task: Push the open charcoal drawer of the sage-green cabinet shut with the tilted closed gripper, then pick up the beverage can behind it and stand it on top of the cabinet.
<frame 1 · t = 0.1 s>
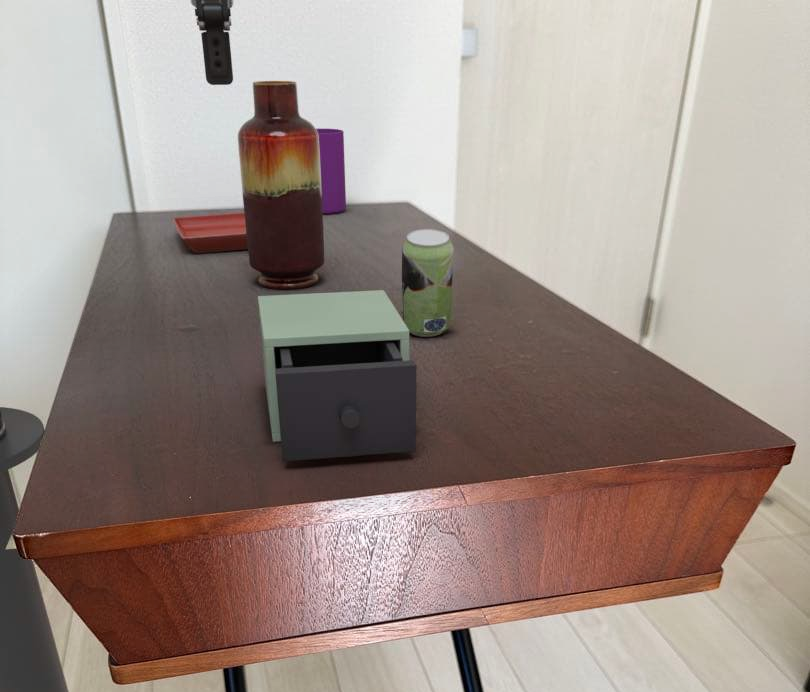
hand: (220, 81, 73), 28 cm above the table, tool pointing down, fingers open, 8 cm apart
cabinet: (333, 408, 83), on the table
mug: (308, 212, 173), on the table
beverage can: (426, 334, 104), on the table
plant saucer: (231, 243, 148), on the table
drawer: (340, 389, 74), point 5 cm above the table, slide at 5.0 cm
vase: (288, 283, 125), on the table
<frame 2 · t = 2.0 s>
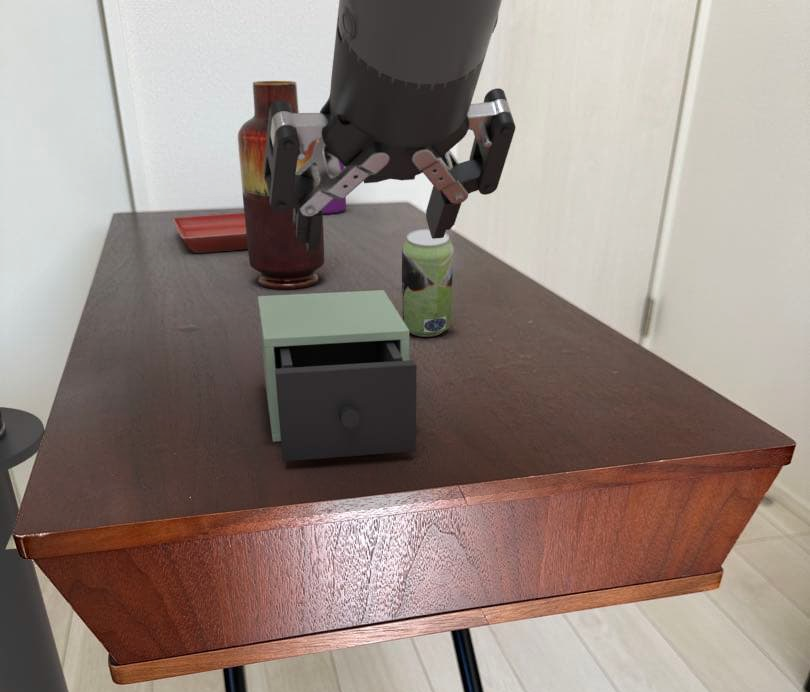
hand: (372, 233, 56), 20 cm above the table, tool tilted 40°, fingers open, 8 cm apart
nothing on the table moved.
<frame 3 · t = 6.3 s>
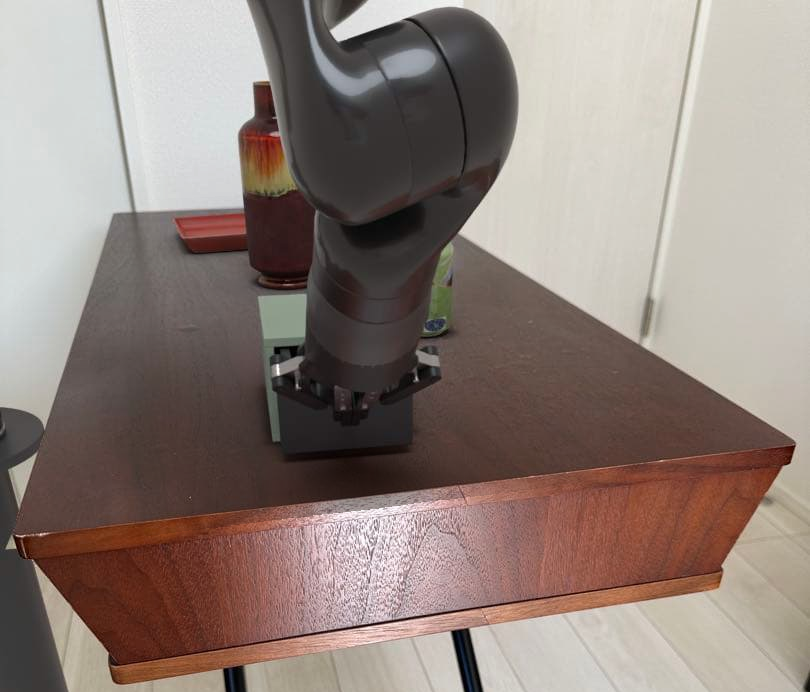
hand: (348, 415, 69), 5 cm above the table, tool tilted 45°, fingers closed
drawer: (338, 383, 76), point 5 cm above the table, slide at 3.5 cm, touching gripper
everything else where it was.
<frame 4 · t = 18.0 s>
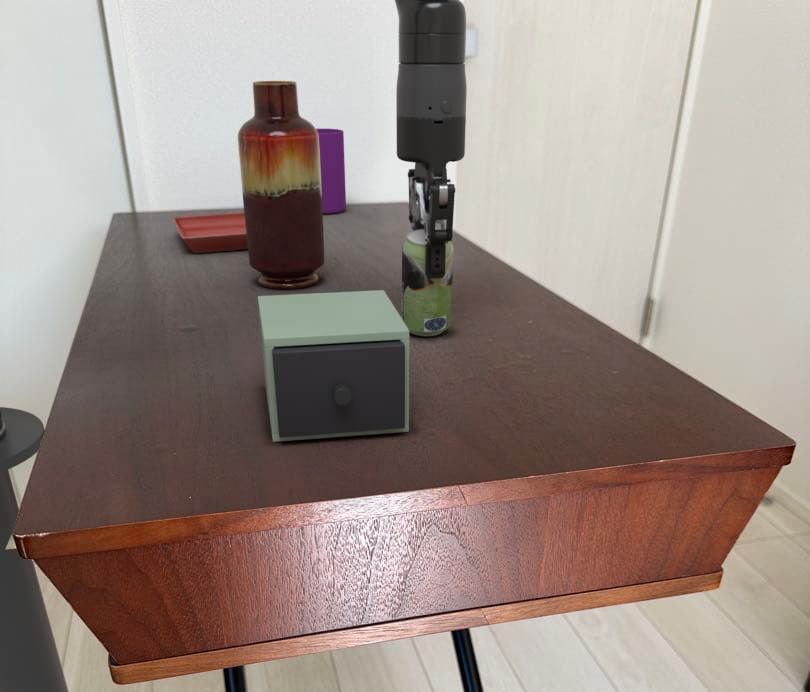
hand: (429, 270, 99), 8 cm above the table, tool pointing down, fingers closed on beverage can, 6 cm apart
beverage can: (426, 334, 104), on the table, touching gripper
drawer: (334, 370, 78), point 5 cm above the table, slide at 0.0 cm, touching cabinet
everything else where it was.
when the fingers open (17 cm above the table, at t = 26.1 s): beverage can stays where it is, resting on cabinet.
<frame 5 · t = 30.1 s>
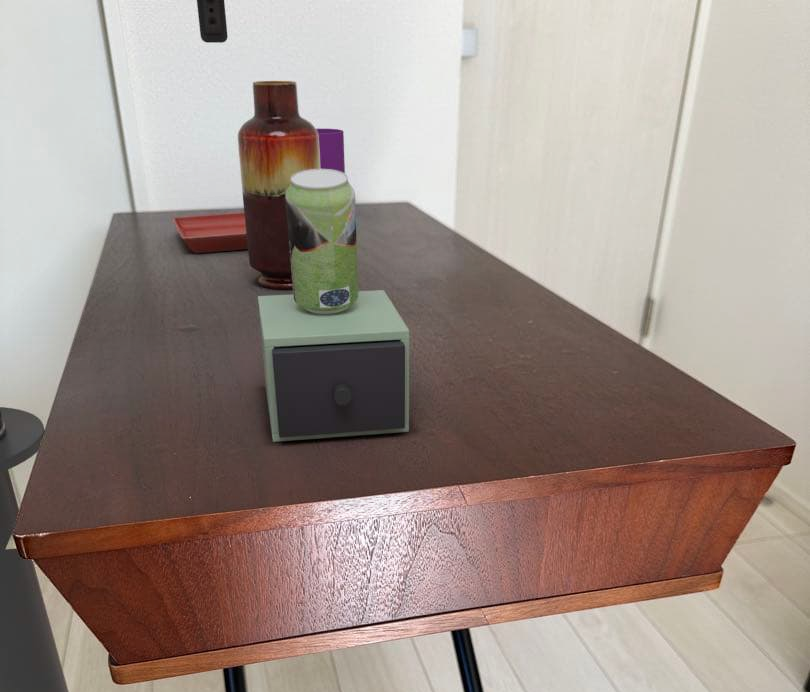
hand: (214, 41, 74), 31 cm above the table, tool pointing down, fingers open, 8 cm apart
beverage can: (326, 312, 79), point 9 cm above the table, touching cabinet
everything else where it was.
at the end: drawer slide at 0.0 cm; beverage can inside the target area on the cabinet (0.7 cm from its centre), point 9.4 cm above the cabinet's base; beverage can tilted 0° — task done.
